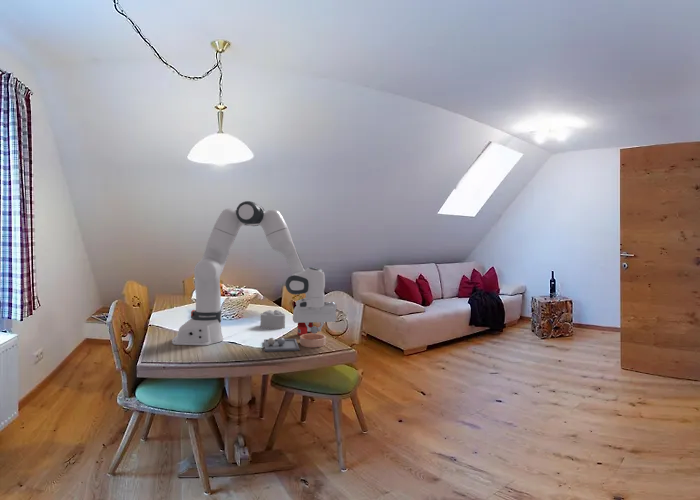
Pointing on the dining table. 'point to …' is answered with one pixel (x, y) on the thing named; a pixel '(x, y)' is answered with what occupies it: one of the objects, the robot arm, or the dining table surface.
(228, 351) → the dining table surface
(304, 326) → the canned food
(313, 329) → the pebble
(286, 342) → the tray
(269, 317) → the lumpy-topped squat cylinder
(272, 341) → the pebble
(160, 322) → the dining table surface
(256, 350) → the dining table surface
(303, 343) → the bowl
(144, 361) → the dining table surface
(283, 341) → the pebble
